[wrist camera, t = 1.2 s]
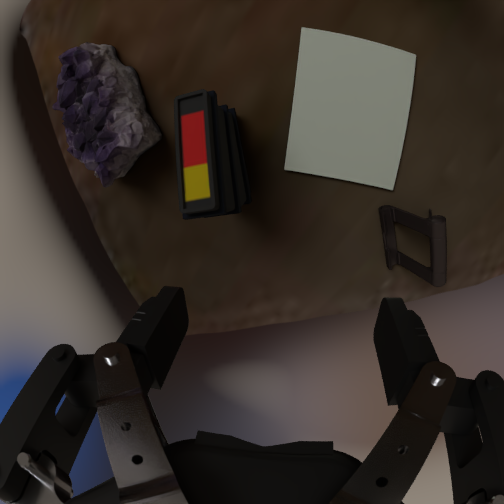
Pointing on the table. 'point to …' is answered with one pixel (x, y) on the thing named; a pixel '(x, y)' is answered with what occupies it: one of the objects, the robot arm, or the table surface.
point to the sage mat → (349, 108)
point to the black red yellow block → (208, 157)
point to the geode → (103, 111)
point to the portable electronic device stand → (427, 226)
